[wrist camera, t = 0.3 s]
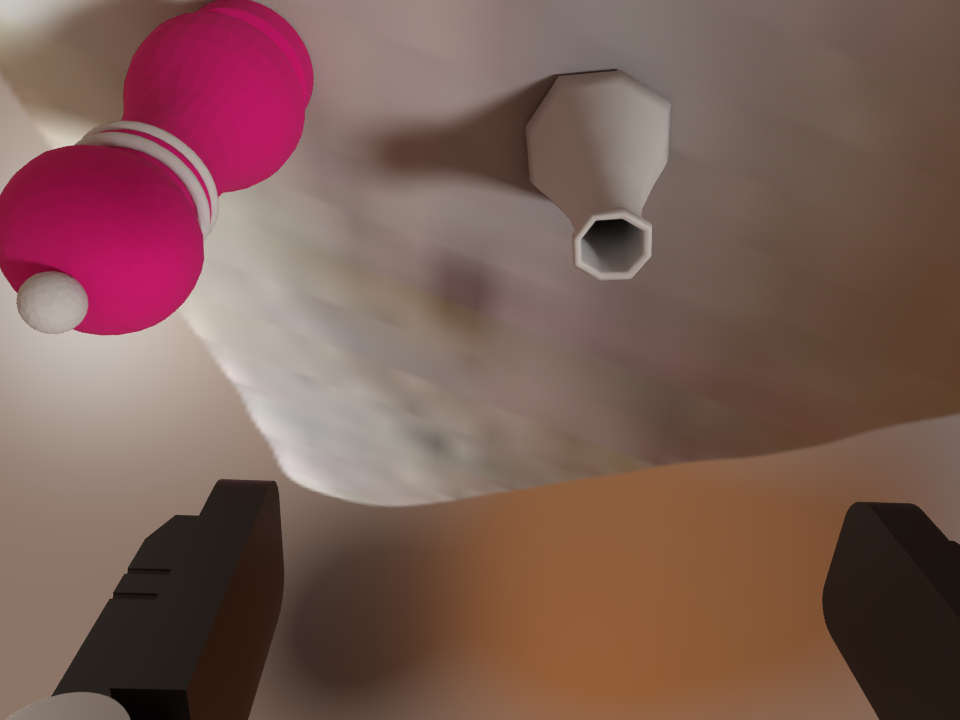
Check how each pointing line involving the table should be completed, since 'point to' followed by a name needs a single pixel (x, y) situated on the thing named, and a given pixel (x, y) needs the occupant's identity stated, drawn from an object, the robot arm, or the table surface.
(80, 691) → the robot arm
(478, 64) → the table surface
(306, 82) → the pepper mill
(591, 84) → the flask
